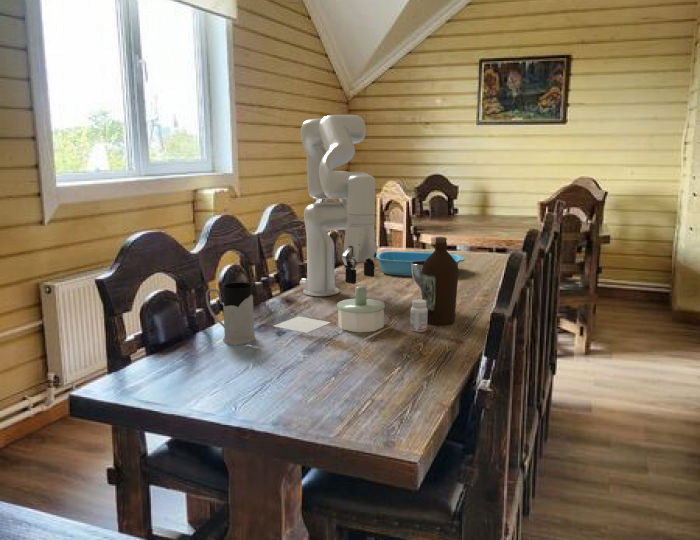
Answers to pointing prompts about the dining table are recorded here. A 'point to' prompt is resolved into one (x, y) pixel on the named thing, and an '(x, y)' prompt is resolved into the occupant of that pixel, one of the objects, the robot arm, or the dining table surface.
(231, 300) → the glass holder
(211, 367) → the dining table surface
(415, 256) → the casserole dish
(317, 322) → the mat
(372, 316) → the bowl
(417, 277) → the wine glass
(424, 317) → the pill bottle
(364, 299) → the lid
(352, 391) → the dining table surface
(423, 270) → the olive oil
